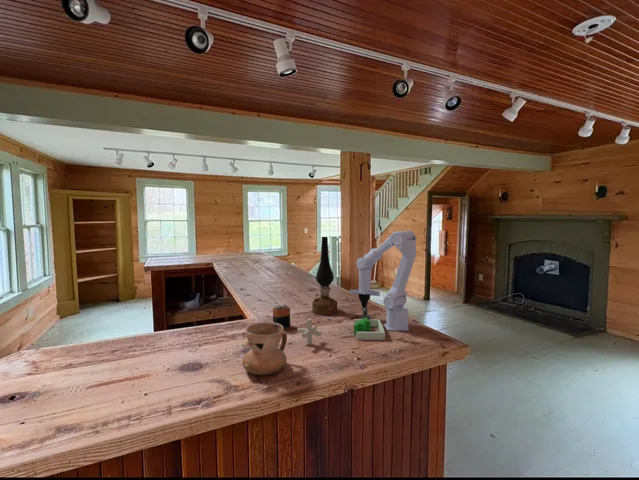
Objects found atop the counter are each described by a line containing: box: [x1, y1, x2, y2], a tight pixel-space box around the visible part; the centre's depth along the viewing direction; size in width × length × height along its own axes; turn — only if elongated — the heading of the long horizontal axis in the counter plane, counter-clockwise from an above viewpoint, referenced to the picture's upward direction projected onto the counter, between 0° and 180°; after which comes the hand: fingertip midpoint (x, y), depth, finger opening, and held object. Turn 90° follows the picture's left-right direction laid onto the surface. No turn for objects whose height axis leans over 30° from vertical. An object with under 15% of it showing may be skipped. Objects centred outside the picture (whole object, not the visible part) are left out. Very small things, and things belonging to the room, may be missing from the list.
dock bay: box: [353, 318, 386, 341], centre depth 139 cm, size 12×16×3 cm
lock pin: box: [362, 306, 369, 314], centre depth 149 cm, size 8×2×5 cm, turn 178°
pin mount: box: [360, 313, 372, 321], centre depth 150 cm, size 3×4×4 cm
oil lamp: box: [311, 236, 339, 316], centre depth 168 cm, size 14×15×40 cm
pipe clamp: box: [353, 318, 371, 336], centre depth 140 cm, size 11×4×5 cm, turn 147°
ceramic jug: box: [240, 321, 288, 376], centre depth 107 cm, size 18×14×14 cm
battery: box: [272, 304, 291, 329], centre depth 145 cm, size 4×7×10 cm, turn 125°
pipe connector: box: [296, 318, 323, 346], centre depth 127 cm, size 10×10×10 cm
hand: (364, 309), depth 157 cm, fingers closed
